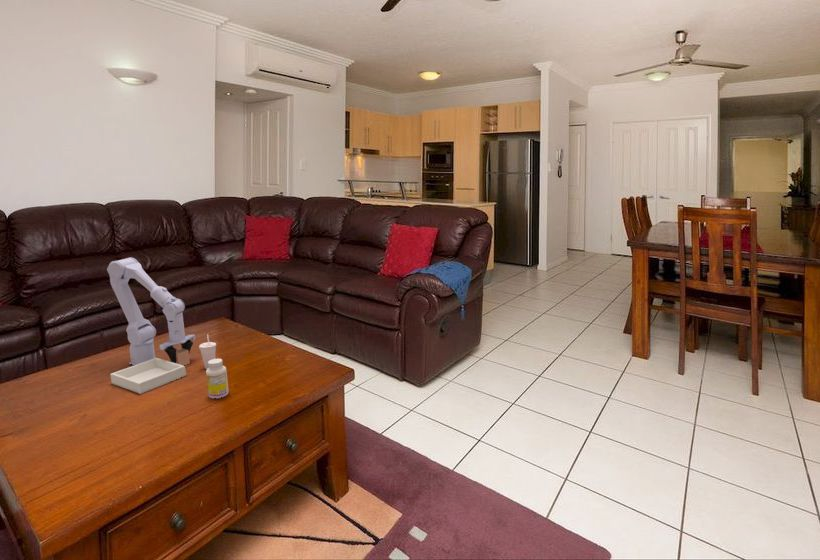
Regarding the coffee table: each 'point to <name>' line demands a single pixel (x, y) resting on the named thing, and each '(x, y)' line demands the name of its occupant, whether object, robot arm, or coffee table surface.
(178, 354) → the brown cube block
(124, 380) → the tray
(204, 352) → the smoothie
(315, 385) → the coffee table surface
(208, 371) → the supplement bottle
